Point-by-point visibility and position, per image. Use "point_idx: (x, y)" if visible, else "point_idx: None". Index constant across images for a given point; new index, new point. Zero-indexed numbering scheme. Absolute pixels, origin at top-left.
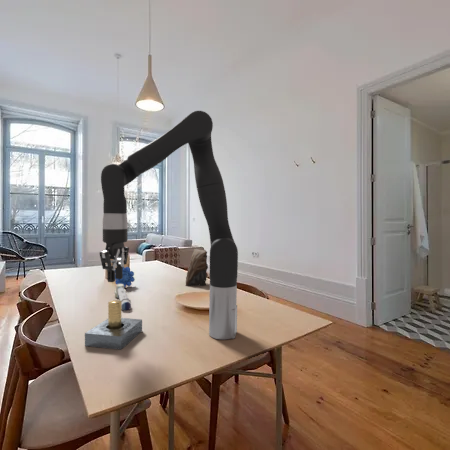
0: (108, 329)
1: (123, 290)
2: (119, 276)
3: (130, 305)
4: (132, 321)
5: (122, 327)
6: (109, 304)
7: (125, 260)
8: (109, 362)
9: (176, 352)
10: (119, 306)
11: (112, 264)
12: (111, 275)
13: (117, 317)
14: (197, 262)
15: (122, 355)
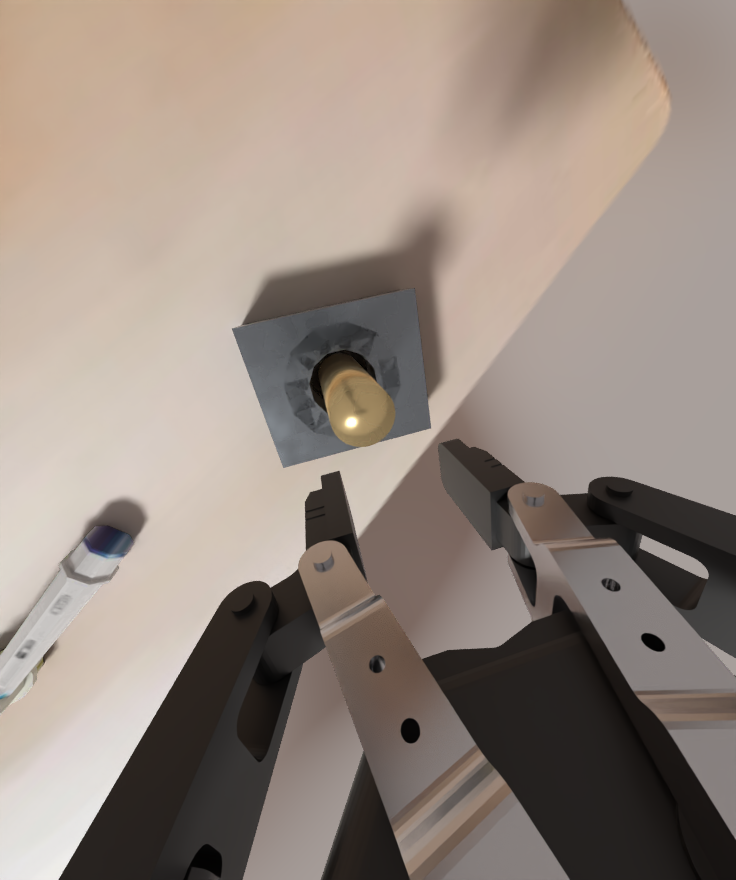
0: (380, 382)
1: (8, 661)
2: (345, 493)
3: (90, 533)
4: (274, 354)
5: (343, 347)
6: (393, 419)
7: (249, 636)
8: (475, 264)
9: (335, 10)
10: (361, 379)
11: (585, 537)
12: (505, 467)
13: (363, 370)
14: None
15: (429, 254)
